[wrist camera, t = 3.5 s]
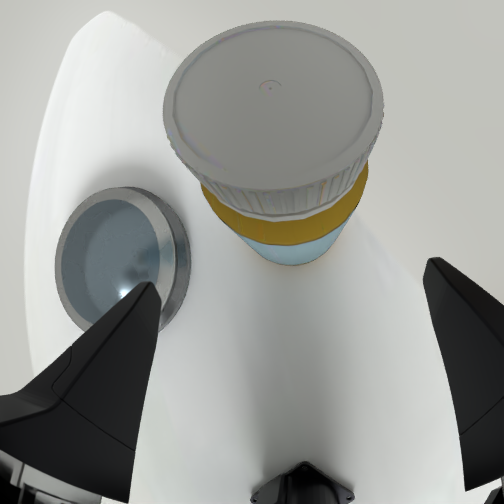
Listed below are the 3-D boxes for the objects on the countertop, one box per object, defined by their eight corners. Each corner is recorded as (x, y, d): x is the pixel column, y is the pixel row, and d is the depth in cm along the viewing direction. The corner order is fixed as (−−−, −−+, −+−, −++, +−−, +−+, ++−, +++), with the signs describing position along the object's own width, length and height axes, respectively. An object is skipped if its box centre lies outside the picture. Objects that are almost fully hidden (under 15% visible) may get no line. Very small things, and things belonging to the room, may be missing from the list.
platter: (210, 259, 21) (206, 257, 20) (115, 368, 21) (107, 370, 20) (118, 165, 23) (112, 160, 22) (45, 266, 24) (37, 265, 22)
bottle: (248, 172, 23) (176, 24, 8) (339, 176, 22) (379, 20, 7) (239, 263, 22) (125, 206, 7) (337, 269, 21) (413, 220, 6)
